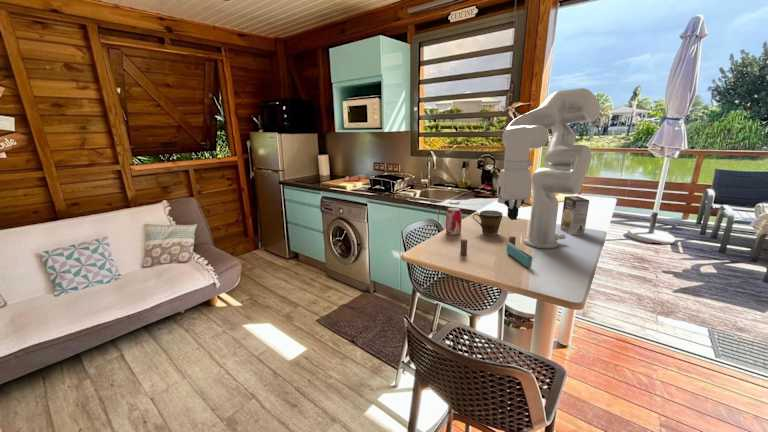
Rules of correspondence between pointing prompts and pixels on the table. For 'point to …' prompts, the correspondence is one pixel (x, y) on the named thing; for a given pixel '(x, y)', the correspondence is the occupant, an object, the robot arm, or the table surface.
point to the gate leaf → (519, 255)
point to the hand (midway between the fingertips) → (512, 218)
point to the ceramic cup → (490, 221)
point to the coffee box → (574, 215)
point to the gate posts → (464, 245)
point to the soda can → (453, 221)
